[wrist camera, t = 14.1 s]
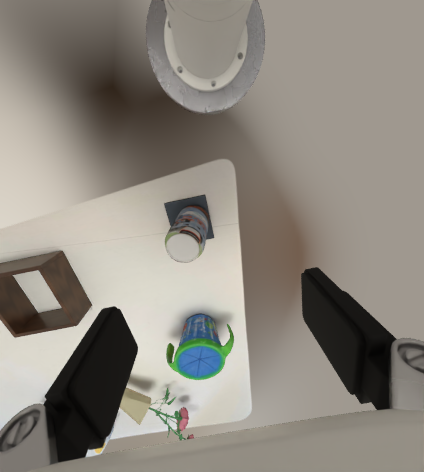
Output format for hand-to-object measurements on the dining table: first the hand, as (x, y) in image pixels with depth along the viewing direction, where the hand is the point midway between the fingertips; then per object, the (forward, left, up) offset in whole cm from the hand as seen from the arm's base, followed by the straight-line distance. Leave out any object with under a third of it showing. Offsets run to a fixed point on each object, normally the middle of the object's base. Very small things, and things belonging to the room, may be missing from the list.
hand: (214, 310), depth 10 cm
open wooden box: (+12, -38, -30) cm, 50 cm away
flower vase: (+49, -28, -31) cm, 64 cm away
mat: (+4, -4, -30) cm, 31 cm away
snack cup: (+31, -8, -31) cm, 44 cm away
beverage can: (+4, -4, -30) cm, 31 cm away
